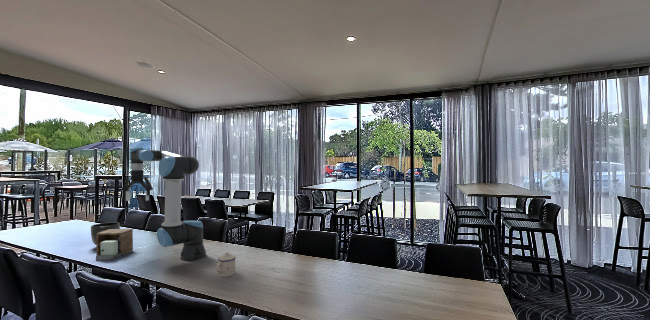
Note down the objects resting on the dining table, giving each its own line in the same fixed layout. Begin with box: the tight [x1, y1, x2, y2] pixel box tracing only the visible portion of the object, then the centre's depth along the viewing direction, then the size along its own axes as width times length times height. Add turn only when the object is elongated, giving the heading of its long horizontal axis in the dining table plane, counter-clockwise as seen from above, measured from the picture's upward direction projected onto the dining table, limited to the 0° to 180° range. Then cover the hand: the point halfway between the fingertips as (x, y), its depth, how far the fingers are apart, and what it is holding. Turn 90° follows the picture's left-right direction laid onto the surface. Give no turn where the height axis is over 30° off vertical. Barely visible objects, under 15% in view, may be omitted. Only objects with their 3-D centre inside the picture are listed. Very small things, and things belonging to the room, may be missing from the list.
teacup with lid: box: [215, 251, 236, 278], centre depth 161 cm, size 12×9×12 cm
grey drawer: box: [95, 237, 124, 262], centre depth 191 cm, size 11×9×12 cm
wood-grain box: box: [95, 228, 134, 256], centre depth 201 cm, size 16×12×15 cm
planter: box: [90, 221, 121, 246], centre depth 218 cm, size 17×17×16 cm
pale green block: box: [101, 241, 118, 256], centre depth 190 cm, size 8×5×11 cm, turn 90°
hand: (137, 200), depth 207 cm, fingers open, 13 cm apart
